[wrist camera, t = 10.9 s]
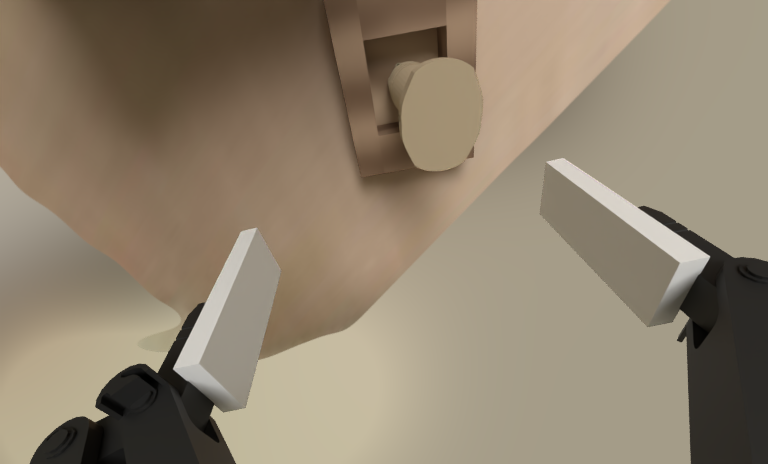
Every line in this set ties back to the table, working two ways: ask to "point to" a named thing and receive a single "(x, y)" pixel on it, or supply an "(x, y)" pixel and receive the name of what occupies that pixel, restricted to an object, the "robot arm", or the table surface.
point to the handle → (437, 110)
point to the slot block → (391, 64)
